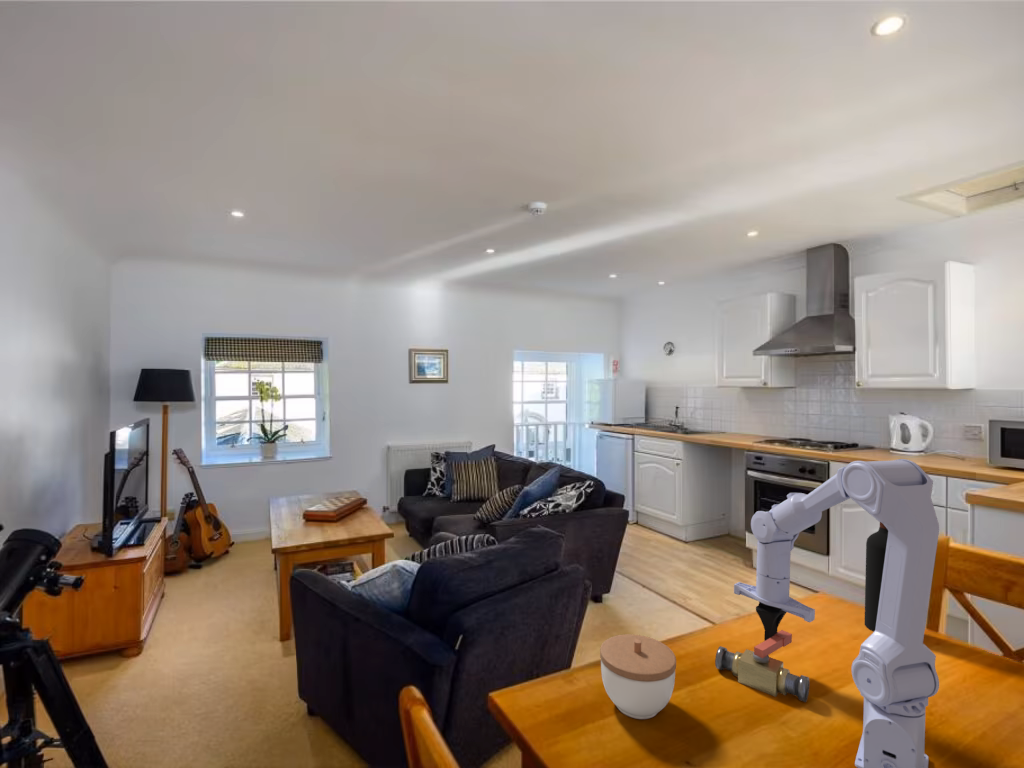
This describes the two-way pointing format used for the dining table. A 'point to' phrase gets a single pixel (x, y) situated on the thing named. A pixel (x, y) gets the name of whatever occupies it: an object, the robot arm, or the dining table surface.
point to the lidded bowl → (637, 674)
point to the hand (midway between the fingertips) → (770, 643)
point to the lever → (771, 646)
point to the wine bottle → (874, 574)
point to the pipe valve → (762, 674)
